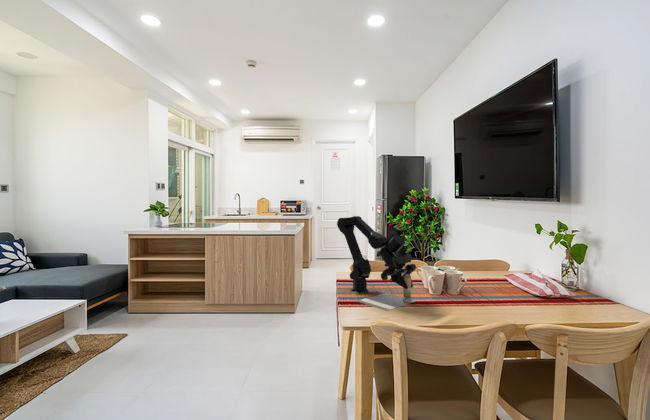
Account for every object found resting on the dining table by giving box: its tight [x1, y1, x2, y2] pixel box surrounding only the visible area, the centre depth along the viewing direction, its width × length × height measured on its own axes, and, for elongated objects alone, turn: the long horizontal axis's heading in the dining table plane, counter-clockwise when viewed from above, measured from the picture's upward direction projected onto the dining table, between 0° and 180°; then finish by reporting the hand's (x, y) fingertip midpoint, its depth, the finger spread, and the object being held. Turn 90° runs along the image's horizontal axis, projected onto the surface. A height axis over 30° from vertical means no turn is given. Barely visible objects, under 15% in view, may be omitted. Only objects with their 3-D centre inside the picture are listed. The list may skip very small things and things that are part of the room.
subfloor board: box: [356, 292, 417, 312], centre depth 145 cm, size 17×20×1 cm
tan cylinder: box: [402, 274, 412, 304], centre depth 144 cm, size 4×4×12 cm
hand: (409, 287), depth 143 cm, fingers closed on tan cylinder, 3 cm apart
